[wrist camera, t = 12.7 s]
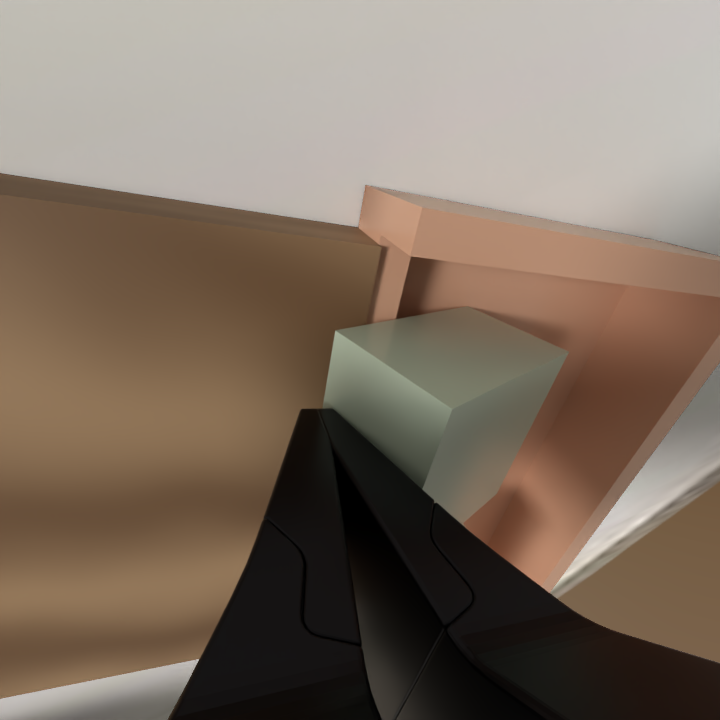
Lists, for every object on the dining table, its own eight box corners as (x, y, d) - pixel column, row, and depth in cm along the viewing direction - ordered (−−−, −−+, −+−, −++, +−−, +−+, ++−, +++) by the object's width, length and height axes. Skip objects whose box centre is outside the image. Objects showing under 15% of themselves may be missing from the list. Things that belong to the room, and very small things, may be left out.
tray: (475, 571, 20) (512, 642, 17) (293, 601, 17) (302, 694, 14) (655, 240, 12) (785, 272, 9) (365, 184, 9) (421, 207, 6)
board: (295, 589, 17) (300, 638, 15) (-43, 642, 13) (-85, 715, 11) (358, 227, 9) (381, 246, 8) (-383, 115, 6) (-643, 105, 4)
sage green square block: (423, 436, 13) (496, 493, 11) (307, 498, 10) (384, 591, 8) (467, 306, 11) (569, 351, 9) (335, 330, 8) (452, 408, 6)
